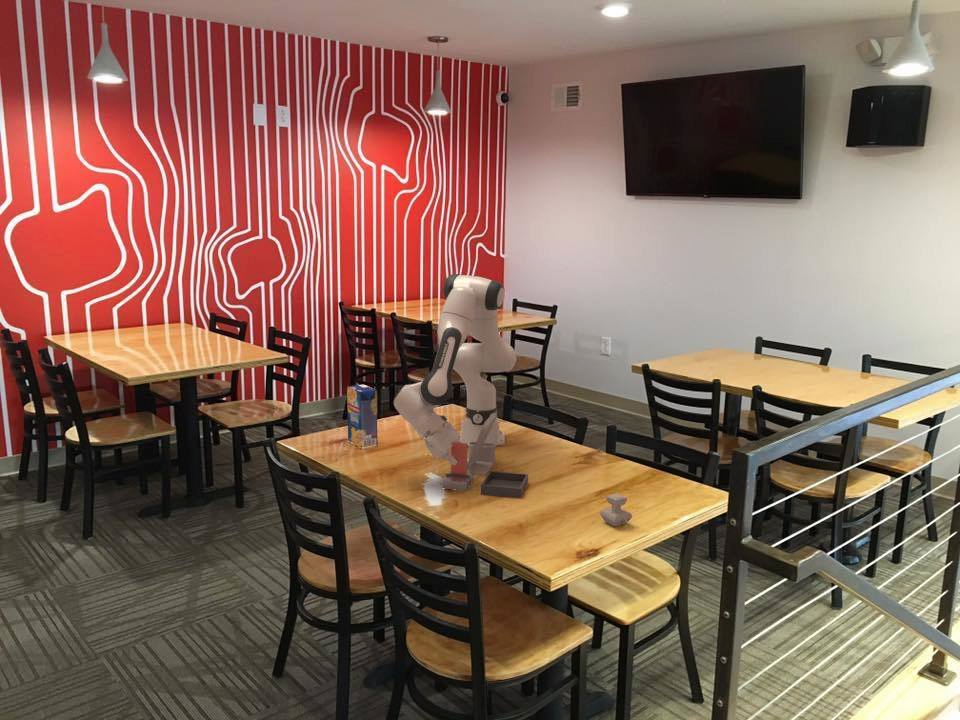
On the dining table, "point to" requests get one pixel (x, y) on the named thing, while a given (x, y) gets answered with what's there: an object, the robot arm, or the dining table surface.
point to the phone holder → (482, 450)
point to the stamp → (616, 511)
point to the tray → (504, 484)
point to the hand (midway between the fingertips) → (459, 459)
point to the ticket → (459, 458)
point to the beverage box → (362, 415)
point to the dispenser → (458, 480)
